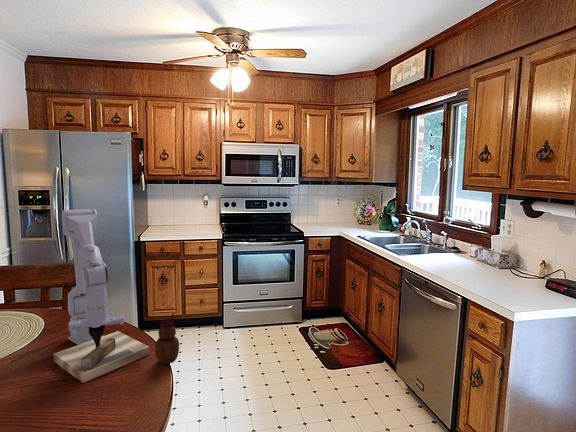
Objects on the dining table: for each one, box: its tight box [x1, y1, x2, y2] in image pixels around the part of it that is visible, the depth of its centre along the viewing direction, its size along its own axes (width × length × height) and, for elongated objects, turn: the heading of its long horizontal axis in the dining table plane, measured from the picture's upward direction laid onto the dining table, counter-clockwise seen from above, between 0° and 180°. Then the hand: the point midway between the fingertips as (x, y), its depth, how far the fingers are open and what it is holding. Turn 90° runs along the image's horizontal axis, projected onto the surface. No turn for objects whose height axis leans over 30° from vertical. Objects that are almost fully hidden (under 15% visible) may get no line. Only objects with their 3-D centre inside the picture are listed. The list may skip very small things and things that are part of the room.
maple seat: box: [53, 330, 150, 384], centre depth 112 cm, size 18×20×3 cm
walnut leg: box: [81, 338, 116, 370], centre depth 107 cm, size 14×3×2 cm, turn 174°
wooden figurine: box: [154, 312, 180, 365], centre depth 110 cm, size 7×6×15 cm
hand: (98, 349), depth 110 cm, fingers closed, pressing on walnut leg
